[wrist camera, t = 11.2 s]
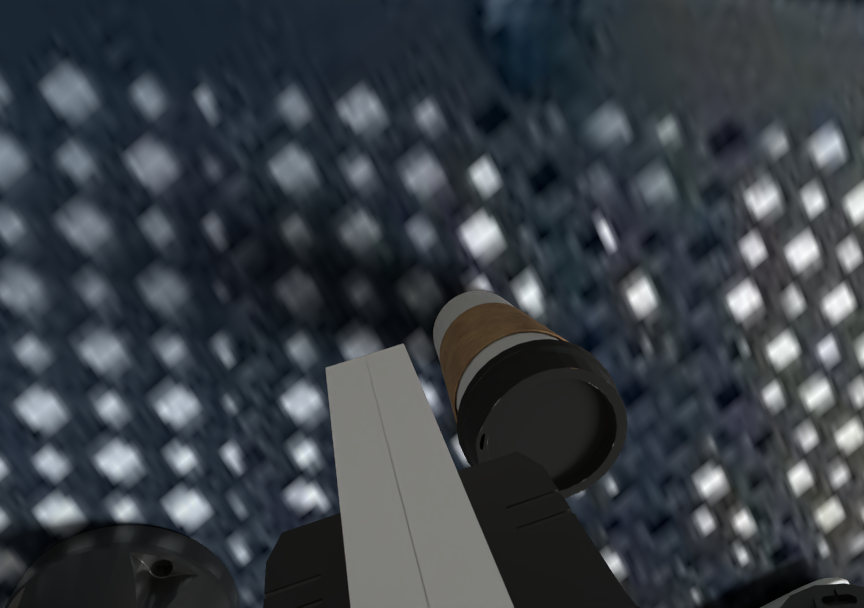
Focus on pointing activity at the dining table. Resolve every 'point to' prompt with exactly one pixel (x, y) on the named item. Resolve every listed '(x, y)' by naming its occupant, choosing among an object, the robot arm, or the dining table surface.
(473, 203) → the dining table surface
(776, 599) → the salad plate
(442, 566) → the robot arm
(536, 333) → the coffee cup
